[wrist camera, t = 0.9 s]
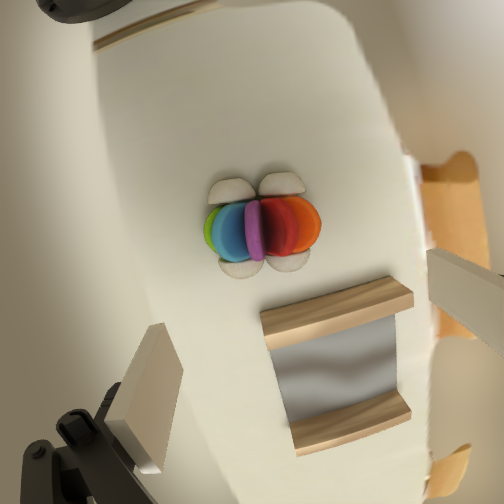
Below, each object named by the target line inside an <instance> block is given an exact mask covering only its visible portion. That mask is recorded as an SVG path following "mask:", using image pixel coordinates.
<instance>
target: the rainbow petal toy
mask: <svg viewBox="0 0 504 504" xmlns="http://www.w3.org/2000/svg"><path fill="white" fill-rule="evenodd" d="M305 191H306V189H305V186H304V183H303V182H302V180H301V179H300V178H299V177H298V176H297V175H296V174H294V173H292V172H283V173H273V174H268V175H267V176H266V177H265V178H264V179H263V180H262V182H261V184H260V186H259V189H258V195H259V196H263V197H264V198H265V199H262V200H261V201H258V200H254V201H252V199H253V198H254V197H255V196H256V193H255V191H254V189H253V188H252V186H251V185H250V184H249V183H248V182H247V181H245V180H243V179H241V178H236V179H228V180H222V181H218V182H217V183H216V184H215V185H214V186H213V187H212V188H211V190H210V192H209V195H208V204H220V203H229V205H222V206H218V207H216V208H215V209H214V210H213V211H212V212H211V213H210V215H209V216H208V218H207V220H206V222H205V225H204V237H205V240H206V242H207V244H208V245H209V246H210V248H211V249H213V250H214V251H215V252H217V253H218V254H219V255H220V256H221V258H220V259H219V260H218V262H219V265H220V267H221V269H222V270H223V271H224V272H225V273H226V274H227V275H228V276H230V277H232V278H236V279H245V278H249V277H252V276H254V275H255V274H256V273H258V271H259V270H260V269H261V267H262V265H263V263H264V259H266V260H267V262H268V263H269V265H270V266H271V267H272V268H274V269H275V270H277V271H280V272H293V271H296V270H299V269H300V268H302V267H303V266H304V265H305V263H306V262H307V260H308V258H309V255H310V248H309V247H311V246H312V245H313V244H314V243H315V241H316V240H317V238H318V236H319V233H320V230H321V220H320V217H319V214H318V212H317V210H316V209H315V208H314V206H313V205H312V204H311V203H310V202H308V201H307V200H305V199H303V198H301V197H298V196H295V195H297V194H299V193H304V192H305Z"/></svg>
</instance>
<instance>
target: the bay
mask: <svg viewBox="0 0 504 504" xmlns="http://www.w3.org/2000/svg"><path fill="white" fill-rule="evenodd" d="M411 307H414V296H413V292H412V291H411V290H410V289H408V288H407V287H405V286H404V285H403V284H401V283H400V282H398V281H397V280H395V279H394V278H393V277H391V276H388V277H385V278H381V279H378V280H375V281H372V282H368V283H365V284H362V285H358V286H355V287H352V288H348V289H345V290H341V291H338V292H334V293H331V294H327V295H324V296H320V297H316V298H313V299H309V300H305V301H302V302H298V303H294V304H290V305H286V306H283V307H279V308H275V309H271V310H267V311H263V312H260V317H261V322H262V328H263V333H264V338H265V341H266V345H267V349H268V351H269V350H270V354H271V357H272V361H273V365H274V369H275V372H276V376H277V380H278V384H279V387H280V391H281V395H282V398H283V402H284V406H285V410H286V413H287V417H288V421H289V425H290V429H291V434H292V438H293V443H294V447H295V451H296V455H297V457H299V456H303V455H307V454H311V453H315V452H318V451H322V450H326V449H329V448H332V447H336V446H339V445H342V444H346V443H349V442H352V441H355V440H358V439H361V438H364V437H367V436H369V435H372V434H375V433H378V432H380V431H383V430H386V429H388V428H391V427H393V426H396V425H398V424H401V423H403V422H406V421H408V420H410V419H411V412H412V411H411V409H410V408H409V407H408V405H407V404H406V402H405V401H404V399H403V398H402V396H401V395H400V394H399V392H398V391H397V389H396V384H397V364H396V329H395V313H398V312H400V311H403V310H406V309H409V308H411Z"/></svg>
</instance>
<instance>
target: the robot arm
mask: <svg viewBox="0 0 504 504" xmlns="http://www.w3.org/2000/svg"><path fill="white" fill-rule="evenodd" d="M130 1H131V0H36V2H37V4H38V6H39V7H40V9H41V10H42V11H43V12H44V13H46V14H47V15H48V16H49V17H51V18H52V19H54V20H55V21H58V22H61V23H67V24H73V23H74V24H75V23H83V22H87V21H91V20H94V19H97V18H100V17H103V16H105V15H107V14H109V13H111V12H113V11H115V10H117V9H119V8H121V7H122V6H124V5H125V4H127V3H128V2H130ZM426 253H427V267H428V286H429V300H430V301H431V302H432V303H434V304H435V305H436V306H438V307H439V308H440V309H442V310H443V311H444V312H446V313H447V314H448V315H450V316H451V317H452V318H454V319H455V320H456V321H458V322H459V323H460V324H462V325H463V326H464V327H466V328H467V329H468V330H469V331H471V332H472V333H473V334H475V335H476V336H477V337H478V338H480V339H481V340H482V341H484V342H485V343H486V344H487V345H489V346H490V347H491V348H492V349H494V350H495V351H496V352H497V353H499V354H500V355H501V356H502V357H503V358H504V275H499V274H496V273H494V272H492V271H490V270H488V269H486V268H483V267H481V266H479V265H477V264H475V263H473V262H471V261H468V260H466V259H464V258H462V257H460V256H457V255H455V254H453V253H451V252H448V251H446V250H444V249H441V248H439V247H436V248H433V249H430V250H427V251H426ZM182 374H183V367H182V365H181V363H180V360H179V358H178V356H177V353H176V351H175V349H174V346H173V344H172V341H171V339H170V337H169V334H168V332H167V329H166V327H165V324H164V323H160V324H155V325H151V326H149V327H148V329H147V331H146V333H145V335H144V337H143V339H142V341H141V343H140V345H139V347H138V349H137V351H136V353H135V355H134V358H133V359H132V362H131V364H130V366H129V368H128V370H127V372H126V374H125V376H124V378H123V380H122V382H117V383H115V384H114V385H113V386H112V387H111V388H110V389H109V390H108V392H107V394H106V395H105V398H104V401H103V402H102V403H101V407H99V410H98V412H97V414H96V416H95V418H94V420H93V419H92V417H91V415H90V414H89V412H88V411H86V410H85V409H74V410H72V411H69V412H67V413H66V414H64V415H63V416H62V417H61V418H60V419H59V420H58V422H57V424H56V430H57V432H58V433H59V434H60V436H61V437H62V438H63V440H64V441H65V442H66V444H67V445H68V446H65V447H60V448H56V449H55V448H54V447H53V445H52V444H51V443H50V442H49V441H48V440H44V439H43V440H37V441H35V442H33V443H31V444H30V445H29V446H28V447H27V449H26V450H25V452H24V455H23V466H22V478H21V496H20V504H94V503H93V498H94V499H95V501H96V503H97V504H158V503H157V502H156V501H155V499H154V498H153V497H152V496H151V495H150V493H149V492H148V491H147V490H146V488H145V487H144V486H143V485H142V483H141V482H140V481H139V480H138V478H137V477H136V476H135V475H134V473H133V470H134V467H135V465H136V466H137V467H138V468H139V470H140V471H141V472H142V473H143V474H151V473H162V471H163V466H164V461H165V455H166V451H167V446H168V440H169V435H170V431H171V425H172V421H173V416H174V411H175V407H176V402H177V397H178V393H179V388H180V383H181V379H182ZM92 496H93V498H92Z"/></svg>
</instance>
